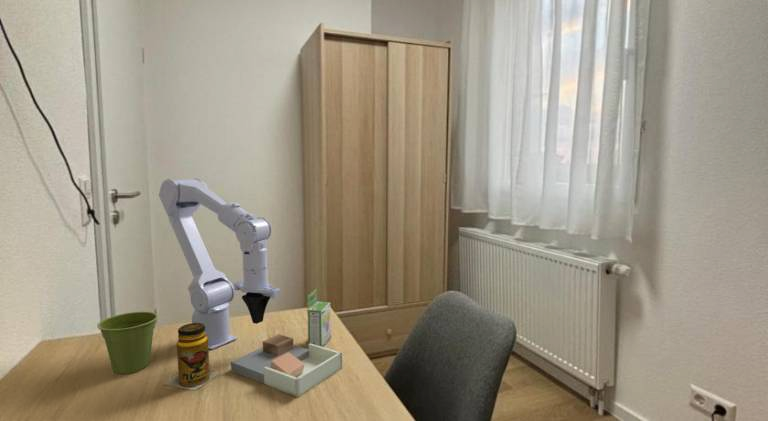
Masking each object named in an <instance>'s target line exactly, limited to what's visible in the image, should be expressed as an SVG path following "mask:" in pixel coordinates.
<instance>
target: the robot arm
mask: <svg viewBox="0 0 768 421" xmlns="http://www.w3.org/2000/svg"><path fill="white" fill-rule="evenodd" d="M158 196H159V199H160V202H161V203H162V206H163V209H164V210H165V213H166V215H167V217H168V218H167V219H168V220H169V223H170V225H171V228H172V230H173V231H174V234H175V237H176V239H177V241H178V244H179V245H180V248H181V250H182V253H183V255H184V257H185V260H186V262H187V265H188V267H189V270H190V271H191V273H192V276H193V279H192V280H191V282H190V284H189V285H188V292H189V296H190V304H191V305H192V307H193V309H194V311H193V313H192V315H191V323H202V324H204V325H205V331H206V334H205V335H206V336H207V338H208V350H214V349H217V348H219V347H221V346H223V345H226V344H229V343H231V342H233V341H236V340H238V336H235V335H232V334H231V331H230V313H229V312H230V311H229V307H230V306H231V302H232V301H233V300H234V298H235V293H236V292H235V291H240V292H241V293H244V294H243V295H241V299H242V301H243V303H245V305H246V307H247V309H248V312H249V315H250V318H251V321H252V323H253V324H256V325H257V324H260V323H262V322H264V317H265V313H266V308H267V305H268V304H269V301H270V300H271V299H273V300H275V299H277V298H280V297H281V288H277V287H275V286H273V285H272V284H269V270H268V269H269V268H268V245H267V244H268V243H267V240H268V239H269V238H270V237H271V236H272V226H271V224H270V222H269V221H268V220H267V219H266V218H265V217H263V216H262V217H261V216H260V217H256V216H254V214H252V212H250V213H249V212H248V211H246V210H245V209H244V208H242V207H241V204H240V203H238V202H228V203H227V202H226V201H225V200H223V199H222V198H221V197H220V196H219V195H217V194H216V193H214V192H213V191H212V190H211V189H210V188H209V186H208V183H206V182H204V181H202V179H200V178H198V177H197V178H185V179H183V178H182V179H172V178H171V179H170V178H169V179H165V180H163V181H162V183H161V186H160V189H159V192H158ZM200 205H201V206H203V207H205V208H206V209H208V210H210V211H211V212H212V213H215V214H216V215H217V219H218V222H220V223H221V224H222V225H224V226H225V227H227V228H228V229H229V230H231V231H232V232H233V233H235V237H236V240H237V241H238V242H239V248H240V250H241V252H242V270H243V271H242V272H243V273H242V275H243V280H239V281H235V282H233V283H232V282H231V281H230V280H229V279H228V278H227V275H226V274H225V273H224V272H222V271H221V270H217V269H216V268H215V266H214V264H213V261H212V260H211V257H210V255H209V252H208V250H207V248H206V246H205V244H204V241H203V239H202V237H201V235H200V234H201V233H200V232H199V230H198V227H197V226H196V223H195V220H194V218H193V215H194V213H195V212H197V210H198V209H199V207H200Z"/></svg>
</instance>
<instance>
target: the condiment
mask: <svg viewBox="0 0 768 421" xmlns="http://www.w3.org/2000/svg"><path fill="white" fill-rule="evenodd" d="M177 333H178V334H177V335H178V336H177V339H178V340H177V342H176V354H177V355H176V356H177V368H178V373H177V375H176V376H174V377H172V378H170V379H169V380H167V381H166V382H164V383H163V385H166V386H171V387H175V388H180V389H184V390H190V391H196V390H198V389H199V388H201V387H203V386H204V385H206V384H207V383H209V381H212V379H213V378H215V377H217V376H218V375H219V374H220V373H219V372H214V371H210V370H211V368H210V355H209V353H210V350H209V349H208V338H207V336H206V335H205V334H206V331H205V325H204V324H202V323H192V322H191V323H187V324H184V325H182V326H180V327H179V328H178V329H177Z"/></svg>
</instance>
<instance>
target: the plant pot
mask: <svg viewBox="0 0 768 421" xmlns="http://www.w3.org/2000/svg"><path fill="white" fill-rule="evenodd" d="M158 318H159V314H158V313H156V312H153V311H133V312H126V313H122V314H116V315H114V316H111V317H107V318H105V319H103V320H101V321H100V322H98V323H97V325H96V326H97V329H98V330H100V332H101V335H102V337H103V339H104V342H105V346H106V350H107V354H108V357H109V361H110V365H111V368H112V371H113V373H117V374H119V375H127V374H130V373H131V374H133V373H136V372H140V370H141V369H143V368H147V367H148V366H149V365H150V362H151V354H152V347H153V346H152V345H153V338H154V330H155V328H156V322H157V320H158Z"/></svg>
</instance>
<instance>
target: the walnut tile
mask: <svg viewBox="0 0 768 421" xmlns="http://www.w3.org/2000/svg"><path fill="white" fill-rule="evenodd" d="M293 345H294V338H292V337H289V336H285V335H283V334H280V333H278V334H276V335H273V336H272V337H269V338H267V339H265V340H263V341H262V347H263V352H266V353H269V354H272V355H275V356H280V355H282V354H284V353H286V352H288V351H290V350H292V349H293Z"/></svg>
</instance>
